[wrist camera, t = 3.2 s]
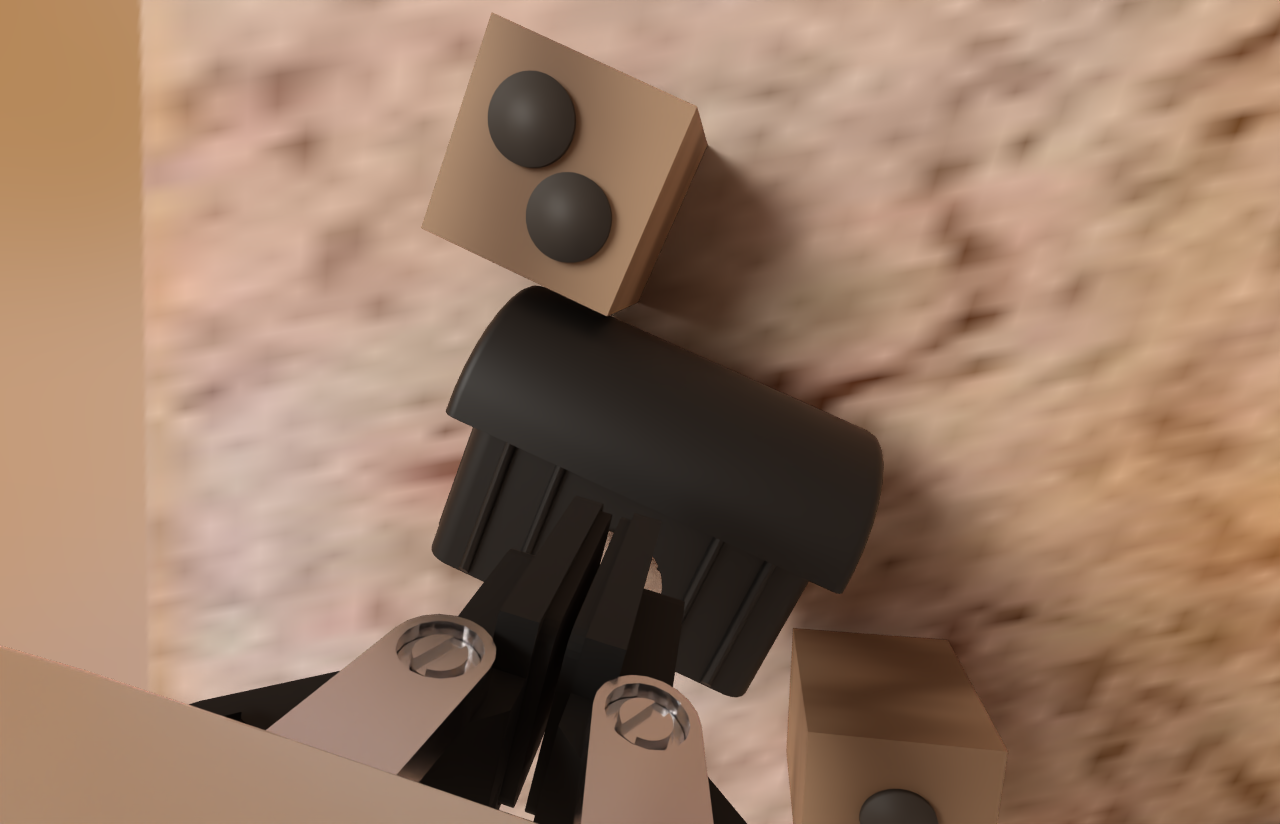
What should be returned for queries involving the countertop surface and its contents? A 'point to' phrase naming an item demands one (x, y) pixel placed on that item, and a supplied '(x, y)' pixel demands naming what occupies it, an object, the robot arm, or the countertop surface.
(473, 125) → the marked block
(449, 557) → the black arched block
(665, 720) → the robot arm
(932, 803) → the marked block
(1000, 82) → the countertop surface
